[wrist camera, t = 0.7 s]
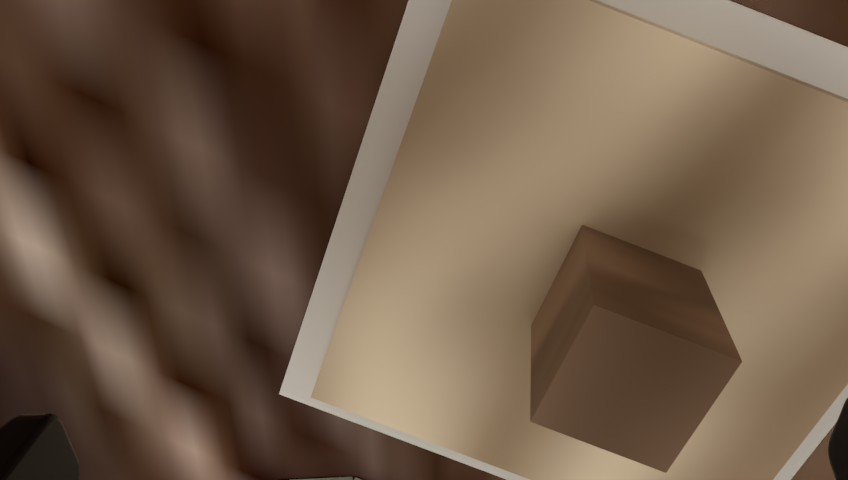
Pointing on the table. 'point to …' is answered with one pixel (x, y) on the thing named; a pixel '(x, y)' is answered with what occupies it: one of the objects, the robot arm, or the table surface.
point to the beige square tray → (602, 254)
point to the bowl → (334, 479)
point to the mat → (418, 34)
